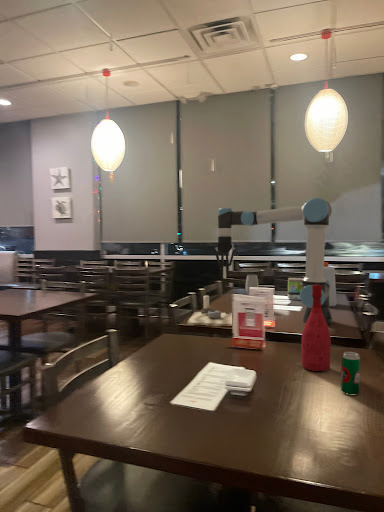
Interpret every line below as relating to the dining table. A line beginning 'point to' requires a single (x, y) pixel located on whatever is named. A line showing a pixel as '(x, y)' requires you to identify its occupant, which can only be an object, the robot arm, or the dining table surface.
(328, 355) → the wine bottle
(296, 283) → the tea box
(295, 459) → the dining table surface
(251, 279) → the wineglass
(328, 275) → the plastic bottle
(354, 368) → the soda can
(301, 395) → the dining table surface
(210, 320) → the dial board
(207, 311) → the grey l-shaped block
